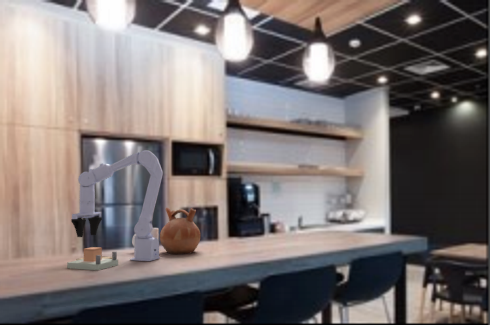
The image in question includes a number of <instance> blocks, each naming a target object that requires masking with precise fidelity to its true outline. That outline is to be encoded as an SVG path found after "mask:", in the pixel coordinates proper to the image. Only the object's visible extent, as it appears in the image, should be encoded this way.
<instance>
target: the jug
mask: <svg viewBox="0 0 490 325" xmlns="http://www.w3.org/2000/svg"><path fill="white" fill-rule="evenodd" d="M165 211H166V214H167V217H168V222H166V224H165V225H164V226H163V227H162V228H161V231H160V233H159V241H160V242H159V243H160V244H161V246H162V248H163V249H164V251H166V252H167V254H171V255H187V254H189V255H190V254H192V253H194V252H195V250H196V249H197V247H198V246H199V244H200V240H201V231H200V229H199V227H198V226H197V224H195V222H194V219H195V218H194V217H195V216H196V215H195V214H196V212H197V210H196V209H194V207H192V208H190V209H189V212H188V211H186V210H184V209H183V208H181V209H176V210H171V209H170V208H169V207H165ZM181 213H183V214H184V215H185V216H186V217H176V215H179V214H181Z"/></svg>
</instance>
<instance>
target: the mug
mask: <svg viewBox="0 0 490 325" xmlns="http://www.w3.org/2000/svg"><path fill="white" fill-rule="evenodd" d="M151 234H152V235H153V238H157V239H158V240H159V227H153V229H152V231H151ZM134 236H136V234H135V233H134V234H133V236H132V238H131V243H132V247H134V238H135V237H134Z"/></svg>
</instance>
